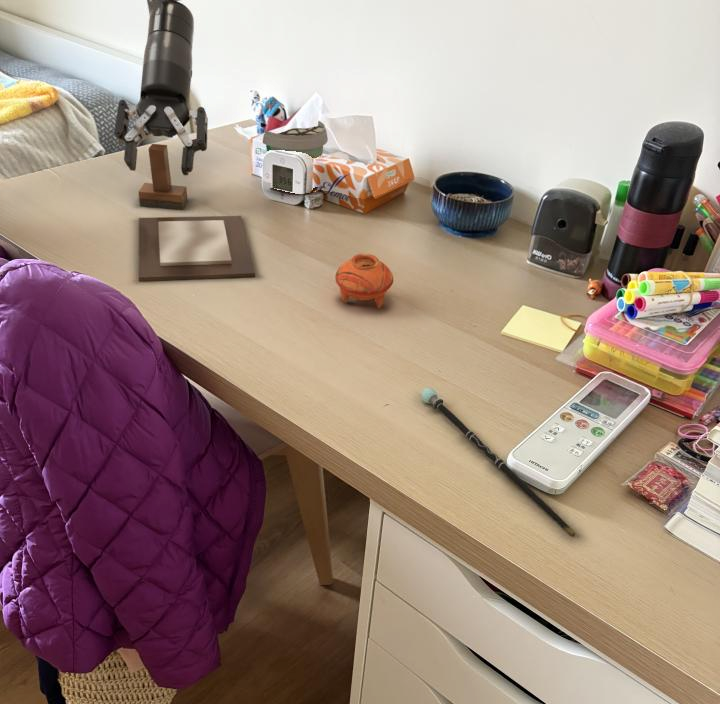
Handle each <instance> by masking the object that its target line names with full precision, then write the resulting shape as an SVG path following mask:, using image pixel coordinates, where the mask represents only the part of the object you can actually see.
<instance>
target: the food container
mask: <svg viewBox="0 0 720 704" xmlns="http://www.w3.org/2000/svg"><path fill="white" fill-rule="evenodd" d="M328 140H329V139H328V131H327V129H326V125H325V124H324V123H323V122H322V121H321V120H318V121H317V126H312V127H307V128H306V127H305V128H301V127H294V128H290V129H287V130H284V131H282V132H279V133H276V132H272V131H269V130H267V129H264V133H263V137H262V144H264V145H265V147H266V149H265V150H266V152H267V151H269V150H285V151H296V152H302V153H306V154H308V155H309V156H311V157H312V158H317V157H319V156H321V155H322V156H323V154H324V153H323V151H324V146H325V145H326V144H328ZM270 190H272V191H274V192H275V193H280V194H284V195H293V196H295V195H296V196H300V194H295V193H290V192H285V191H282V190H277V189H274V188H270ZM317 190H319V187H315V188H313V190H312V191H311V192H310V193H308V194H311V193H314V192H316V191H317ZM308 194H307V195H308Z"/></svg>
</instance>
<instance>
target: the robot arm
mask: <svg viewBox="0 0 720 704" xmlns="http://www.w3.org/2000/svg"><path fill="white" fill-rule="evenodd" d="M180 1H181V0H146V4H147V9H148V16H149V17H148V28H147V38H146V43H145V46H144V52H143V63H142V71H141V73H142V74H141V81H140V82H141V84H140V92H139V93H140V95H139V97H140V98H139V101H138V103H137V104H133V103H127V101H126V100H125V99H120V100H119V101H118V105H117V111H116V116H115V123H114V129H113V134H114V136H115V138H116V139H117V141H118V143H119V144H121V145H123V144H124V155H123V160H124V163H125V164H126V167H128V169H129V171H136V169H137V159H138V148H137V147H138V146H139V145H140V144H141V143H142V142H143V141H146V140H147V139H148V138H149V137H150V136H151V135H152V136H153V137H163V136H164V137H166V138H170V139H171V138H174V137H175V136H177V137H178V139H179V140H180V141H181V143H182V144H183V146H182V154H181V165H180V169H181V170H180V171H181V173H182V175H183V176H189V174H190V173H192V172H193V169H194V160H195V159H194V158H195V153H196V152H199V151H201V152H205V151H207V149H208V127H209V126H208V124H209V123H208V122H209V121H208V114H207V112H206V109H205V107H203V106H199V107H198V108H196V109H189V105H190V96H191V95H190V94H191V85H192V84H191V83H192V78H193V44H194V34H195V20H194V15H193V13H192V12H191V11H192V10H190V8H188V7H187V6H186V5H185V4H184V3H181V2H180ZM135 115H137V116H138V119H136V120H135V122H134V123H133V125H132V128H131V129H130V130H129V126H130V121H131V120H133V118H134V116H135ZM191 119H192V121H193V123H194V125H195V126H196V138H194V139H191V137H190V136H189V134H188V133H187V131H186V129H185V126H187V124H188V123H189V122H190V121H191Z"/></svg>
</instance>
